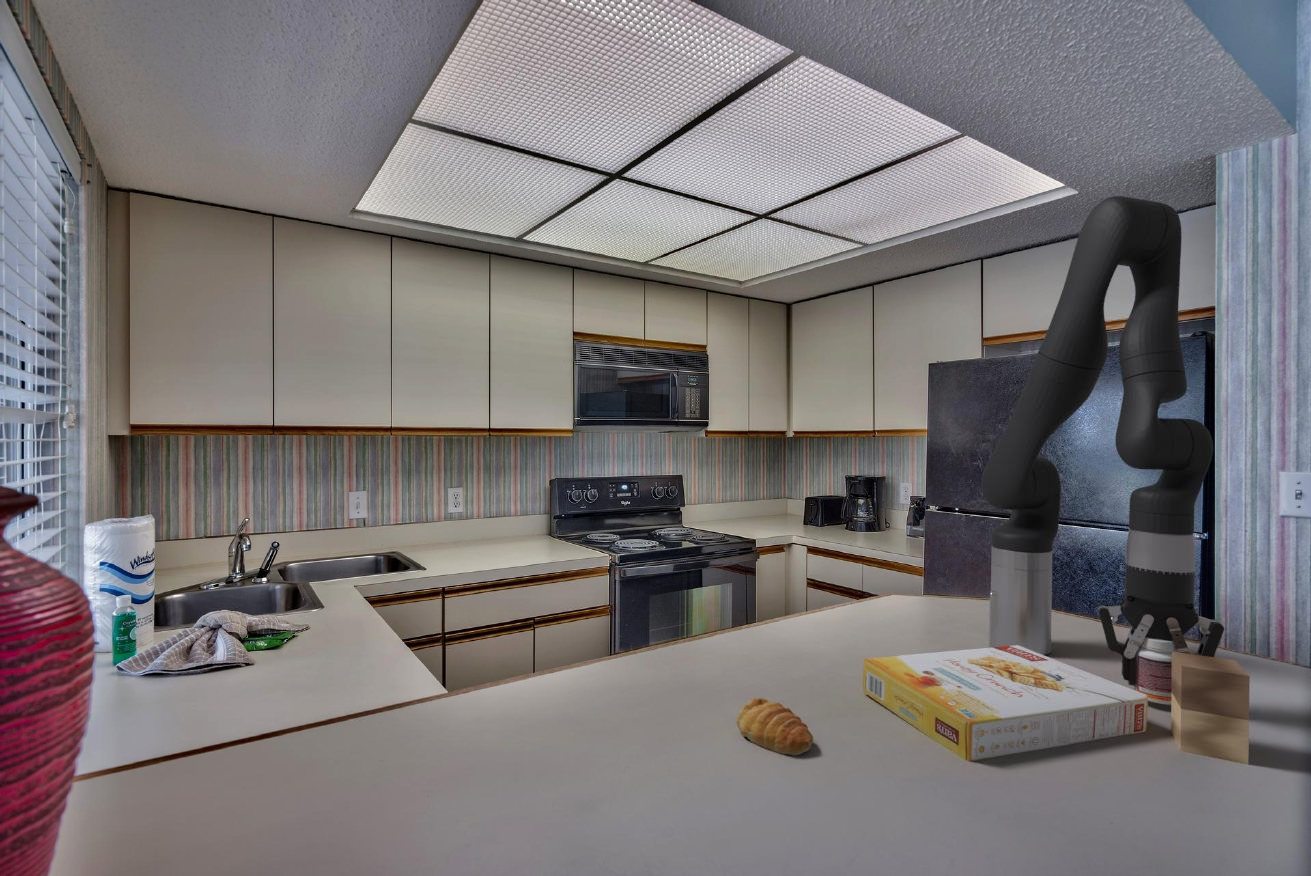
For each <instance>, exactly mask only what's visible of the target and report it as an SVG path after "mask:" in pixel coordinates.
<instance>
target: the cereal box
mask: <svg viewBox="0 0 1311 876" xmlns="http://www.w3.org/2000/svg"><path fill="white" fill-rule="evenodd" d="M862 691H863V693H864V694H866V696H868V697H870V698H872V699H874V701H876V702H877V703H879V704H880V705H882V706H883V707H885V708H886V709H888V710H889V711H890V712H892V713H894V714H895V715H896V716H898V717H899V718H900V719H902V720H904V721H905V722H907V723H908V724H910V725H911V726H912V727H914V728H915V729H917V730H919V732H921V733H923V734H924V735H926V736H927V737H928V738H930V739H932V741H934V742H936V743H938V744H939V745H941V746H942V747H943V748H945V749H947V750H948V751H950V752H952V753H953V754H955V755H957V756H958V757H960V758H962V759H963V760H965V761H967V762H973V761H979V760H985V759H989V758H996V757H997V758H998V757H1001V756H1007V755H1013V754H1018V753H1026V752H1031V751H1037V750H1043V749H1049V748H1057V747H1063V746H1068V745H1073V744H1079V743H1086V742H1090V741H1091V742H1092V741H1097V740H1102V739H1109V738H1114V737H1119V736H1126V735H1131V734H1132V735H1133V734H1138V733H1139V734H1140V733H1143V732H1147V724H1148V706H1149V705H1148V704H1149V701H1148V697H1147V695H1145V694H1143V693H1140V692H1137V691H1135V690H1134V689H1132V688H1130V687H1128V686H1124V685H1122V684H1119V683H1116V682H1114V681H1111V680H1109V679H1106V678H1103V677H1101V676H1099V675H1095V674H1093V673H1091V672H1088V671H1085V670H1082V669H1080V668H1077V667H1075V666H1072V665H1069V664H1067V663H1065V662H1062V661H1058V660H1057V659H1054V658H1052V657H1049V656H1046V655H1042V654H1039V653H1036V652H1034V651H1031V650H1029V649H1026V648H1024V647H1021V646H1019V645H1014V646H1003V647H984V648H971V649H970V648H969V649H962V650H961V649H959V650H947V651H938V652H925V653H924V652H923V653H914V654H913V653H912V654H903V655H891V656H883V657H881V656H880V657H870V658H863V673H862Z"/></svg>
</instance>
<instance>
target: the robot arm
mask: <svg viewBox="0 0 1311 876" xmlns="http://www.w3.org/2000/svg"><path fill="white" fill-rule="evenodd" d="M1182 238H1183V237H1182V223H1181V219H1180V216H1179V214H1178V212H1177V211H1176V209H1175V208H1174V207H1172V206H1171V205H1169V204H1167V203H1163V202H1160V201H1153V200H1148V199H1141V198H1136V197H1130V196H1129V197H1128V196H1122V195H1121V196H1117V195H1116V196H1110V197H1106V198H1105V199H1103V200H1101V201H1100V202H1099V203H1098V204H1096V206H1094V207H1093V209H1091V211H1090V212H1089V214H1088V215H1087V217H1086V219H1085V221H1084V223H1083V225H1082V226H1081V229H1080V232H1079V234H1078V237H1077V240H1076V243H1075V246H1074V251H1073V254H1072V257H1071V260H1070V264H1069V268H1068V271H1067V274H1066V278H1065V281H1064V285H1063V288H1062V290H1061V294H1060V297H1059V299H1058V301H1057V305H1056V307H1055V310H1054V313H1053V315H1052V318H1051V320H1050V324H1049V326H1048V328H1047V330H1046V333H1045V336H1044V338H1043V340H1042V342H1041V345H1040V346H1039V349H1038V351H1037V354H1036V356H1035V358H1034V361H1033V363H1032V366H1031V369H1030V370H1029V371H1030V372H1029V374H1028V377H1027V379H1026V382H1025V385H1024V387H1023V390H1022V392H1021V394H1020V397H1019V398H1018V402H1017V403H1016V405H1015V408H1014V410H1013V413H1012V415H1011V417H1010V419H1009V421H1008V424H1007V425H1006V428H1005V429H1004V431H1003V433H1002V435H1001V437H1000V439H999V440H998V442H997V445H996V446H995V447H994V450H993V451H992V453H991V455H990V457H989V459H988V460H987V462H986V465H985V467H984V470H983V473H982V477H981V492H982V494H983V497H984V499H985V501H986V502H987V503H988V504H989V505H990V506H992V507H993V508H996V509H1000V510H1011V513H1010V516H1009V518H1008V519H1007V521H1005V523H1003V524H1002V525H1000V526H998V527H997V528H995V529H994V530H993V531H992V533H991V556H990V557H991V559H990V560H991V565H990V566H991V568H990V570H991V571H990V572H991V573H990V592H989V627H988V629H989V636H988V638H989V639H988V641H989V644H988V646H989V647H988V648H991V647H1003V646H1014V645H1019V646H1021V647H1024V648H1026V649H1029V650H1031V651H1034V652H1036V653H1039V654H1042V655H1044V656H1046V655H1049V654H1050V653H1051V651H1052V611H1053V610H1052V607H1053V606H1052V603H1053V602H1052V600H1053V546H1054V544H1053V543H1054V540H1055V538H1056V536H1057V534H1058V531H1059V525H1060V522H1059V521H1060V511H1061V510H1060V508H1061V496H1062V487H1061V486H1062V485H1061V477H1060V474H1059V471H1058V469H1057V467H1056V466H1055V464H1054V463H1053V462H1052V461H1051V460H1050V459H1048V458H1046V457H1042V456H1040V452H1041V451H1042V448H1043V447H1044V445H1045V444H1046V442H1047V441H1048V440H1049V438H1050V437H1051V436H1052V435H1053V433H1055V432H1056V430H1057V429H1059V428H1060V427H1061V426H1062V425H1063V424H1064V423H1065V422H1066V421H1067V420H1068V419H1069V418H1071V417H1072V416H1073V415H1074V414H1075V413H1076V412H1077V411H1078V410H1079V409H1080V408H1081V407H1082V406H1083V404H1084V403H1085V402H1086V401H1087V400H1088V399H1089V397H1090V396H1091V394H1092V392H1093V390H1094V389H1095V386H1096V384H1097V382H1098V380H1099V377H1100V375H1101V373H1102V371H1103V368H1104V366H1105V365H1106V362H1107V359H1108V354H1109V353H1108V352H1109V342H1108V341H1109V340H1108V332H1107V326H1106V325H1107V324H1106V319H1105V302H1106V301H1105V300H1106V296H1107V292H1108V289H1109V286H1110V284H1111V282H1112V280H1113V279H1112V278H1113V276H1114V274H1115V272H1116V269H1117V267H1118V266H1122V267H1124V266H1125V267H1129V270H1130V273H1131V276H1132V279H1133V280H1132V281H1133V283H1134V288H1135V289H1134V291H1135V292H1134V293H1135V294H1134V295H1135V296H1134V301H1133V305H1132V309H1131V311H1130V314H1129V316H1128V318H1127V320H1126V323H1125V325H1124V327H1123V328H1122V329H1123V330H1122V332H1121V335H1120V339H1119V346H1118V359H1119V364H1120V373H1121V380H1122V387H1123V393H1122V394H1123V396H1122V400H1121V401H1122V402H1121V406H1120V411H1119V412H1120V413H1119V418H1118V423H1117V427H1116V433H1115V441H1114V442H1115V448H1116V452H1117V453H1118V456H1119V457H1120V459H1121V460H1122V461H1123V463H1124V464H1126V466H1128V467H1130V468H1132V469H1137V470H1157V471H1158V470H1160V471H1161V473H1160V476H1159V477H1158V480H1157V481H1156V482H1155V483H1153V484H1151V485H1147V486H1142V487H1138V488H1136V489H1134V490H1132V492H1131V493H1130V497H1129V510H1128V512H1129V513H1128V515H1129V516H1128V534H1127V539H1126V545H1125V546H1126V547H1125V552H1124V553H1125V554H1124V558H1125V566H1124V567H1125V570H1124V571H1125V576H1124V597H1123V600H1122V601H1121V602H1120V604H1119V605H1111V606H1110V605H1109V606H1107V605H1105V604H1100V605H1098V606H1097V611H1098V614H1099V618H1100V621H1101V625H1102V630H1103V632H1104V633H1103V634H1104V636H1105V641H1106V644H1107V647H1108V649H1109V651H1111V652H1113V653H1115V652H1116V653H1118V654H1119V655H1121V675H1122V677H1123V678H1122V679H1123V680H1124V681H1127V683H1128V686H1133V687H1134V686H1135V676H1136V659H1135V654H1136V652H1137V650H1138V648H1139V647H1140V645H1141V644H1142V642H1143V640H1144V638H1145V637H1147V638H1154V639H1155V638H1159V639H1162V640H1167V641H1174V644H1175V647H1176V649H1175V652H1179V653H1186V654H1191V653H1190V650H1189V647H1188V645H1187V643H1186V642H1187V641H1186V640H1185V637H1184V635H1186V634H1187V633H1188V632H1189V631H1190V630H1191V629H1192V628H1193V627H1194V626H1196V624H1197V625H1199V631H1200V632H1201V634H1202V635H1203V636H1202V638H1201V641H1200V643H1199V645H1198V646H1199V647H1198V648H1197V651H1196V653H1192V654H1193V655H1201V656H1208V657H1215V654H1216V653H1217V649H1218V646H1219V645H1220V641H1221V639H1222V636H1223V634H1224V631H1225V627H1224V625H1223V624H1222V623H1221V622H1220V621H1219V620H1218V619H1216V618H1212V619H1209V618H1207V617H1204V616H1200V615H1198V613H1197V610H1196V608H1195V591H1196V590H1195V587H1196V586H1195V585H1196V556H1197V555H1196V544H1195V536H1194V534H1195V506H1196V505H1195V504H1196V501H1197V498H1198V495H1199V493H1200V491H1201V489H1202V486H1203V483H1204V481H1205V478H1206V475H1207V473H1208V470H1209V468H1210V465H1211V462H1212V459H1213V453H1214V441H1213V437H1212V435H1211V433H1210V431H1209V429H1208V428H1207V427H1206V426H1205V424H1203V423H1202V422H1200V421H1198V420H1196V419H1191V418H1176V417H1175V418H1174V417H1173V418H1169V417H1164V418H1163V417H1162V418H1161V417H1159V409H1160V406H1161V404H1167V403H1172V402H1174V401H1176V400H1179V399H1181V398H1182V397H1184V396H1185V395H1186V393H1187V390H1188V383H1187V375H1186V368H1185V363H1184V355H1183V350H1182V344H1181V335H1180V325H1179V301H1180V298H1179V297H1180V282H1181V281H1180V280H1181V279H1180V278H1181V258H1182V257H1181V256H1182V254H1181V253H1182ZM1120 615H1123V617H1125V619H1126V620H1127V622H1128V624H1129V625H1130V626H1131V627H1130V630H1129V631H1128V634H1127V637H1126V639H1125V641H1124V643H1122V642H1120V641H1118V639H1117V636H1116V632H1115V629H1114V625H1113V624H1114V623H1117V621H1119V620H1118V617H1119V616H1120ZM1139 635H1140V636H1139Z"/></svg>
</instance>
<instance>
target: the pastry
mask: <svg viewBox="0 0 1311 876" xmlns="http://www.w3.org/2000/svg"><path fill="white" fill-rule="evenodd" d="M736 725H737V728H738V729H739V731H740V733H741V735H742V736H743V738H745V737H746V738H747V739H748V740H749V741H750V742H751V743H753V744H755V745H757V746H760V747H763V748H765V749H767V750H770V751H773V752H775V753H778V754H781V755H789V756H790V755H791V756H793V757H794V756H798V755H801V754H803V753H806V752H808V751H810V749H811V747H812V745H813V742H814V737H813V734H812V733H811V731H810V730H809V726H808V725H807V724H806V723H804V722H803V721H802V720H801V717H799V716H797V715H795V713H794V712H793V711H792V710H791V708H789V707H784V706H783V704H781V703H779V702H770V701H768V699H766V698H762V697H754V698H751V699H750V700H749V701H748V702H747V703H746V704H744V705H743V706H742V707H741V709H740V712H739V714H738V716H737V718H736Z"/></svg>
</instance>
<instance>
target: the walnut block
mask: <svg viewBox="0 0 1311 876" xmlns="http://www.w3.org/2000/svg"><path fill="white" fill-rule="evenodd" d="M1193 654H1194V653H1190V654H1186V653H1179V652H1177V651H1174V652H1172V683H1171V692H1172V694H1173V695H1174V697H1175V699H1176V701H1177V702H1178V704H1179V706H1180V708H1181V709H1185V710H1191V711H1197V712H1203V713H1209V714H1214V715H1220V716H1226V717H1232V718H1237V719H1243V720H1249V721H1250V674H1249V673H1248V672H1246V670H1244V668H1243V667H1242V666H1241V665H1240V664H1239V663H1238V661H1236V659H1228V658H1222V657H1216V656H1214V657H1208V656H1201V655H1193Z"/></svg>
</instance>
